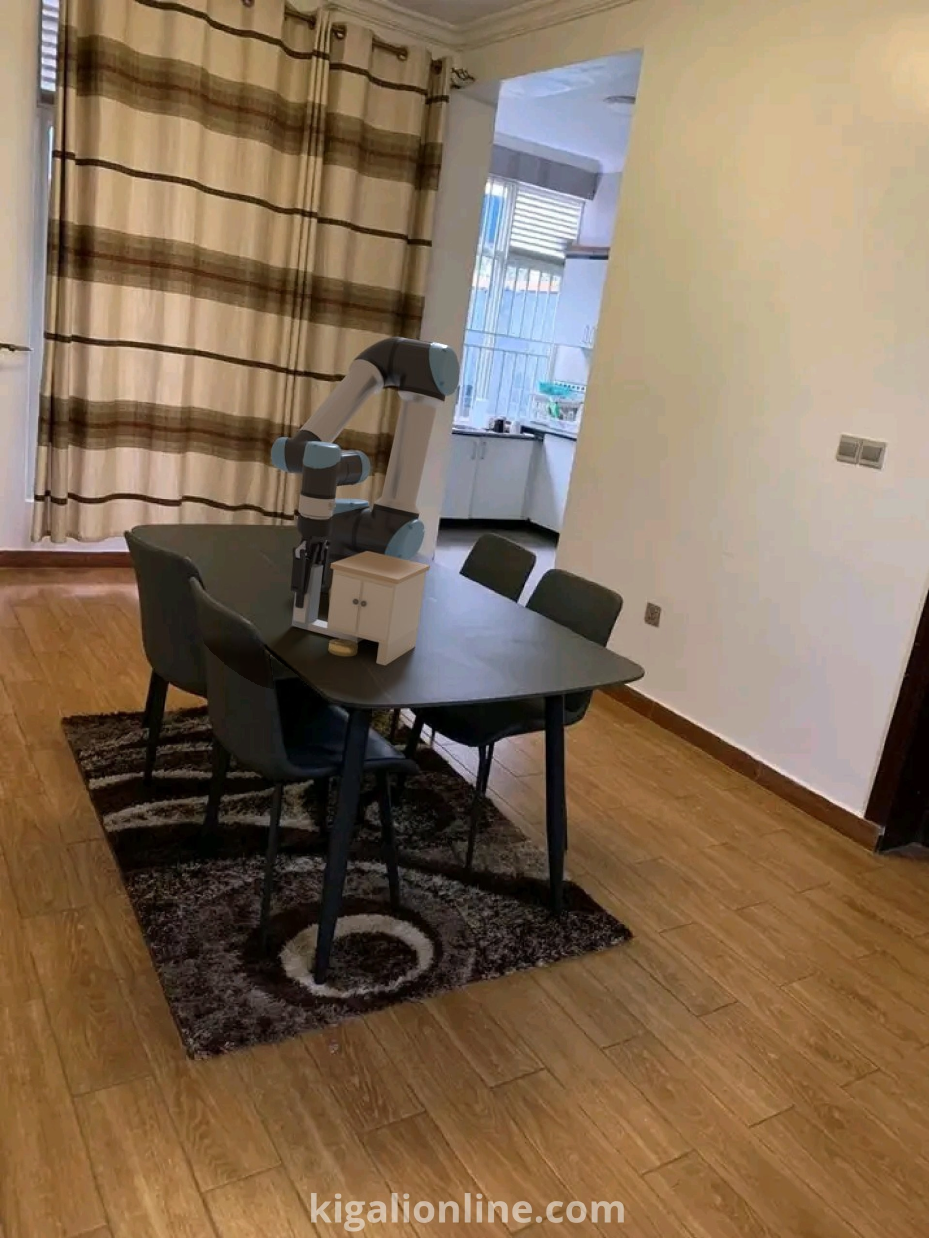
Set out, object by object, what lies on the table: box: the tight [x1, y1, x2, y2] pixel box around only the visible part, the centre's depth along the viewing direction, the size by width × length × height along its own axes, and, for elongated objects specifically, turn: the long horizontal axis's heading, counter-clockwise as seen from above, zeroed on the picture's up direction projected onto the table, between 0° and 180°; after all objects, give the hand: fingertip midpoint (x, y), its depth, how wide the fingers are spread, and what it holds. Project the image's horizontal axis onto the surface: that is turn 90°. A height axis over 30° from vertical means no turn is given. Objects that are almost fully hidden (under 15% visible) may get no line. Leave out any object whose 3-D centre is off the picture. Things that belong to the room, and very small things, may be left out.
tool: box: [291, 564, 365, 644], centre depth 203 cm, size 16×4×14 cm, turn 70°
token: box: [328, 638, 359, 658], centre depth 195 cm, size 6×6×2 cm
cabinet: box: [327, 551, 431, 666], centre depth 197 cm, size 15×18×18 cm
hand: (304, 618), depth 207 cm, fingers closed on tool, 4 cm apart
